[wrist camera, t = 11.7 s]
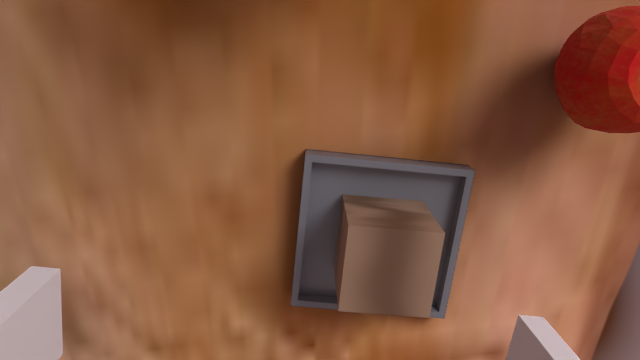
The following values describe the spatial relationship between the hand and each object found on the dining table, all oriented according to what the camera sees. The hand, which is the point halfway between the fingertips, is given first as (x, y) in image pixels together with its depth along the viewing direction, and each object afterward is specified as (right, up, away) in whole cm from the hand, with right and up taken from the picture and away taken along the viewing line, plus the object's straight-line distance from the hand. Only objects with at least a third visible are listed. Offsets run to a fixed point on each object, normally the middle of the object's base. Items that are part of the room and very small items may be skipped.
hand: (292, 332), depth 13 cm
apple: (+21, +14, +24) cm, 35 cm away
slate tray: (+6, 0, +28) cm, 29 cm away
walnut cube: (+6, 0, +27) cm, 28 cm away
